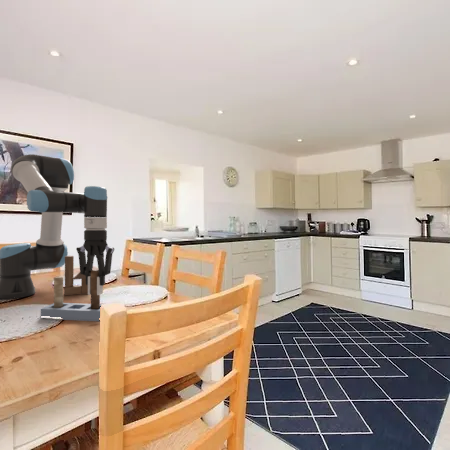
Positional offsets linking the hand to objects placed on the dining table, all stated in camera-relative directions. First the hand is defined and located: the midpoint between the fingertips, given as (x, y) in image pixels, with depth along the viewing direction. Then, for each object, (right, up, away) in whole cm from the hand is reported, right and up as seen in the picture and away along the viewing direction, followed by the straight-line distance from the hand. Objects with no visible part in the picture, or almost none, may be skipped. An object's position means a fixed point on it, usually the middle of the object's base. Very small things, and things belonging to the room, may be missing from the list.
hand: (95, 293), depth 106 cm
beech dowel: (-14, -8, +1) cm, 16 cm away
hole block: (-7, -8, +1) cm, 11 cm away
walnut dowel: (0, -5, 0) cm, 5 cm away
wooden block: (-23, -8, +32) cm, 40 cm away
